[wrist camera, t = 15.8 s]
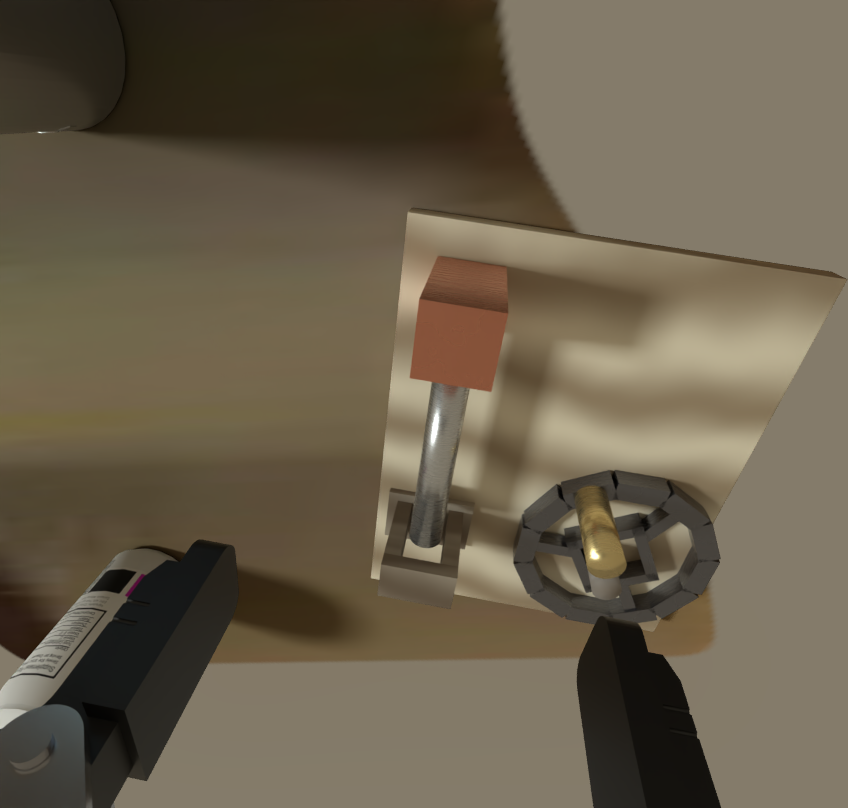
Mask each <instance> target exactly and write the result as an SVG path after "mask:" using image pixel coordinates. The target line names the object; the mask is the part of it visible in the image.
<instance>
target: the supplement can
mask: <svg viewBox="0 0 848 808" xmlns="http://www.w3.org/2000/svg"><path fill="white" fill-rule="evenodd" d="M166 560H172V561H177V560H175V559H174V558H173V557H171V556H169V555H167V554H165V553H162V552H160V551H157V550H152V549H147V548H145V549H135V550H126V551H124V552H122V553H120V554H117V555H116V557H115V558H114V559H113V560H112V561H111V562H110V563H109V565H108V566H107V567H106V568H105V569H104V570H103V572H102V573H101V574H100V575H99V576H98V577H97V579H96V580H95V581H94V582H93V583H92V584H91V585H90V587H89V588H88V589H87V590H86V591H85V592H84V594H83V595H82V596H81V597H80V598H79V599H78V600H77V602H76V603H75V604H74V605H73V606H72V607H71V609H70V610H69V611H68V612H67V613H66V614H65V616H64V617H63V618H62V619H61V620H60V621H59V622H58V624H57V625H56V626H55V627H54V628H53V629H52V631H51V632H50V633H49V634H48V635H47V636H46V637H45V639H44V640H43V641H42V642H41V643H40V644H39V646H38V647H37V648H36V649H35V650H34V651H33V653H32V654H31V655H30V656H29V657H28V658H27V659H26V661H25V662H24V663H23V664H22V665H21V666H20V668H19V669H18V670H17V671H16V672H15V673H14V674H13V676H12V677H11V678H10V679H9V680H8V681H7V683H6V684H5V685H4V686H3V688H2V689H1V691H0V729H2V728H3V727H5V726H6V725H7V724H8V723H9V722H11V721H12V720H14V719H15V718H17V717H18V716H20V715H22V714H24V713H25V712H28V711H30V710H32V709H35V708H38V707H41V706H42V705H44V704H45V703H46V702H47V701H48V700H49V699H50V698H51V697H52V696H53V695H54V693H55V692H56V691H57V690H58V689H59V687H60V686H61V685H62V683H63V682H64V681H65V679H66V678H67V677H68V675H69V674H70V673H71V671H72V670H73V669H74V668H75V666H76V665H77V664H78V662H79V661H80V660H81V658H82V657H83V656H84V654H85V653H86V652H87V650H88V649H89V648H90V646H91V645H92V644H93V643H94V641H95V640H96V639H97V637H98V636H99V635H100V633H101V632H102V631H103V629H104V628H105V627H106V625H107V624H108V623H109V621H110V622H111V621H112V620H113V616H114V615H115V614H116V612H117V611H118V610H119V608H120V607H121V606H122V604H123V603H126V601H127V598H128V597H129V595H130V594H131V593H132V591H133V590H134V589H135V587H136V586H137V585H138V583H139V582H140V581H141V579H142V578H143V577H144V576H145V575H147V574H148V573H149V572H151V571H152V570H154V569H155V568H156V567H158V566H159V565H160V564H162V563H163V562H165V561H166ZM177 562H178V561H177Z"/></svg>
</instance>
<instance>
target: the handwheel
mask: <svg viewBox="0 0 848 808" xmlns="http://www.w3.org/2000/svg"><path fill="white" fill-rule="evenodd" d="M613 500H620V501H625V502H631V503H637V504H643V505H649V506H655V507H659V508H657V509H656V510H655V511H653V512H652V513H650V514H649V515H647V516H646V517H645V518H643V519H642V520H641V519H640V516H639V513H633V514H629V515H624V516H620V517H615V518H614V517H613V513H612V509H611V506H610V502H609V501H613ZM573 509H576V511H577V517H578V522H579V525H578V526H574V527H569V528H564V532H565V536H564V535H558V534H553V533H547V532H544V531H545V530H546V529H548V528H549V527H550V526H551V525H553V524H554V523H555V522H557V521H558V520H559V519H560V518H562V517H563V516H564V515H566V514H567V513H568V512H569V511H571V510H573ZM678 522H680V523H682V524H683V525H684V526H686V527H687V528H688V532H689V536H690V540H691V544H692V547H691V549H690V550H689V552H688V554H687V556H686V558H685V560H684V562H683V564H682V566H681V568H680V569H679V571H678V573H677V574H676V575H674V576H673V577H671V578H670V579H668V580H666V581H665V582H663V583H661V584H660V585H658V586H657V587H655V588H653V589H652V590H650V591H649V592H647V593H643V594H637V595H632V593H631V590H630V587H629V585H634V584H640V583H646V582H651V581H657V580H659V577H658V573H657V570H656V567H655V563H654V560H653V557H652V554H651V550H650V547H649V544H648V542H649V541H651V540H652V539H654V538H655V537H657V536H658V535H660V534H661V533H663V532H664V531H666V530H667V529H669V528H670V527H672V526H673V525H675V524H676V523H678ZM630 538H634V539H635V542H636V545H637V548H638V551H639V555H640V558H641V559H640V560H635V561H630V562H626V560H625V556H624V552H623V549H622V545H621V542H620V540H625V539H630ZM583 548H584V550H583ZM536 551H538V552H544V553H549V554H555V555H561V556H566V557H572V559H573V562H574V564H575V567H576V569H577V572H578V574H579V577H580V579H581V582H582V584H583V587H584V589H585V592H586V593H589V592H592V590H591V585H590V579H589V574H588V571H589V572H590V573H591V574H592V575H593V576H595V577H598V578H602V579H611V578H615V577H617V576H619V580H620V584H621V588H622V592H621V594H620V595H619V598H614V599H611V600H602V599H599V598H597V597H591V596H586V595H580V594H575V593H570V592H569V591H567V590H566V589H564V588H563V587H561V586H560V585H558V584H557V583H555V582H554V581H552V580H551V579H549V578H548V577H546V576H545V575H543V573H542V571H541V569H540V567H539V564H538V562H537V560H536V557H535V552H536ZM719 559H720V554H719V550H718V546H717V541H716V537H715V532H714V528H713V524H712V522H711V520H710V518H709V516H708V514H707V512H706V510H705V509H704V507H703V506H702V505H701V504H700V503H698V502H697V501H696V500H694V499H693V498H692V497H691V496H689V495H688V494H687V493H685V492H684V491H683V490H681V489H680V488H679V487H678V486H676V485H675V484H674V483H672V482H671V481H670V480H668V481H667V482H666V480H665V478H661V477H655V476H650V475H644V474H638V473H632V472H626V471H620V470H614V473H613V475H612V476H611V473H610V470H607V471H603V472H599V473H595V474H590V475H586V476H582V477H578V478H574V479H570V480H566V481H562V482H561V487H560V486H559V485H557V484H556V485H555V486H553V487H552V488H551V489H550V490H548V491H547V492H546V493H545V494H544V495H542V496H541V497H540V498H539V499H538V500H536V501H535V502H534V503H533V504H532V505H530V506H529V507H528V508H527V509H526V510H524V514H522V515H521V519H520V523H519V526H518V530H517V533H516V537H515V540H514V544H513V563H514V566H515V568H516V571H517V573H518V575H519V577H520V579H521V581H522V583H523V586H524V588H525V590H526V592H527V594H530V597H531V598H533V599H534V600H536V601H537V602H539V603H540V604H542V605H543V606H545V607H546V608H548V609H549V610H551V611H552V612H554V613H556V614H557V615H559V616H560V617H564V616H565V617H566V619H568V620H573V621H579V622H584V623H589V624H595V623H596V621H597V619H598V618H599V617H600V616H606V617H611V618H616V619H622V620H627V621H632V622H637V623H642V622H649V621H655V620H657V617H656V615H657V616H658V617H660V618H661V619H662V618H664V617H666V616H667V615H669V614H671V613H673V612H674V611H676V610H678V609H679V608H681V607H683V606H685V605H686V604H688V603H690V602H692V601H693V600H695V599H697V598H698V595H697V594H700V595H702V593H703V591H704V589H705V588H706V586H707V584H708V582H709V581H710V579H711V577H712V575H713V574H714V572H715V570H716V569H717V567H718V565H719V563H720V562H719Z"/></svg>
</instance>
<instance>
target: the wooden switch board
mask: <svg viewBox="0 0 848 808" xmlns="http://www.w3.org/2000/svg"><path fill="white" fill-rule="evenodd" d="M438 256H442V257H448V258H455V259H461V260H467V261H474V262H480V263H486V264H493V265H499V266H506V267H507V290H508V318H507V322H506V327H505V332H504V336H503V341H502V345H501V350H500V355H499V359H498V364H497V369H496V373H495V378H494V382H493V387H492V392H488V391H482V390H476V389H470V390H469V396H468V401H467V406H466V411H465V416H464V422H463V427H462V432H461V437H460V443H459V448H458V453H457V458H456V464H455V469H454V474H453V479H452V485H451V490H450V495H449V500H448V505H447V511H446V516H445V521H444V526H443V532H442V537H441V541H440V543H439V544H438V545H437V546H435V547H433V548H421V547H419V546H417V545H415V544H414V543H413V542H412V541H411V540H410V537H409V534H410V527H411V520H412V513H413V506H414V500H415V493H416V486H417V479H418V472H419V466H420V459H421V452H422V445H423V438H424V431H425V425H426V418H427V411H428V404H429V397H430V391H431V384H432V382H429V381H423V380H417V379H411V378H410V370H411V362H412V354H413V346H414V337H415V329H416V321H417V313H418V304H419V298H420V296H421V294H422V291H423V289H424V287H425V284H426V282H427V280H428V277H429V275H430V273H431V271H432V268H433V266H434V264H435V261H436V259H437V257H438ZM846 281H847V279H846V278H843V277H841V276H839V275H837V274H835V273H833V272H829V271H823V270H816V269H810V268H803V267H796V266H790V265H783V264H776V263H770V262H764V261H757V260H751V259H744V258H738V257H731V256H724V255H717V254H711V253H705V252H698V251H692V250H685V249H679V248H671V247H665V246H659V245H652V244H646V243H639V242H633V241H626V240H620V239H613V238H606V237H600V236H593V235H587V234H580V233H574V232H567V231H561V230H554V229H548V228H541V227H534V226H528V225H521V224H515V223H508V222H502V221H495V220H489V219H482V218H475V217H469V216H462V215H456V214H449V213H443V212H436V211H430V210H423V209H416V208H411V209H410V210H409V212H408V216H407V226H406V236H405V246H404V256H403V266H402V276H401V286H400V296H399V305H398V315H397V325H396V335H395V345H394V355H393V365H392V375H391V385H390V395H389V405H388V415H387V424H386V434H385V444H384V454H383V464H382V474H381V484H380V494H379V504H378V514H377V524H376V534H375V543H374V553H373V563H372V573H371V578H373V579H379V587H378V595H379V596H384V597H389V598H394V599H399V600H405V601H410V602H415V603H420V604H425V605H431V606H436V607H441V608H446V609H451V605H452V601H453V596H454V594H458V595H463V596H468V597H473V598H479V599H484V600H489V601H494V602H500V603H505V604H510V605H515V606H521V607H526V608H531V609H536V610H542V611H547V612H552V611H551V610H549V609H548V608H546V607H545V606H543V605H542V604H540V603H539V602H537V601H536V600H534V599H533V598H531V597H530V594H527V592H526V590H525V588H524V586H523V583H522V581H521V579H520V577H519V575H518V573H517V571H516V568H515V566H514V563H513V544H514V540H515V537H516V533H517V530H518V526H519V523H520V519H521V515H522V514H524V510H526V509H527V508H528V507H529V506H530V505H532V504H533V503H534V502H535V501H536V500H538V499H539V498H540V497H541V496H542V495H544V494H545V493H546V492H547V491H548V490H550V489H551V488H552V487H553V486H555V485H556V484H557V485H559V486H560V487H561V482H562V481H566V480H570V479H574V478H578V477H582V476H586V475H590V474H595V473H599V472H603V471H607V470H610V473H611V476H612V475H613V473H614V470H620V471H626V472H632V473H638V474H644V475H650V476H655V477H661V478H665V480H666V482H667V481H668V480H670V481H671V482H672V483H674V484H675V485H676V486H678V487H679V488H680V489H681V490H683V491H684V492H685V493H687V494H688V495H689V496H691V497H692V498H693V499H694V500H696V501H697V502H698V503H700V504H701V505H702V506H703V507H704V509H705V510H706V512H707V514H708V516H709V518H710V520H711V522H712V524H713V523H714V521H715V519H716V517H717V515H718V514H719V512H720V510H721V508H722V506H723V504H724V503H725V501H726V499H727V497H728V495H729V494H730V492H731V490H732V488H733V486H734V485H735V483H736V481H737V479H738V477H739V476H740V474H741V472H742V470H743V468H744V466H745V465H746V463H747V461H748V459H749V457H750V456H751V454H752V452H753V450H754V448H755V446H756V445H757V443H758V441H759V439H760V437H761V435H762V434H763V432H764V430H765V428H766V426H767V425H768V423H769V421H770V419H771V417H772V416H773V414H774V412H775V410H776V408H777V406H778V405H779V403H780V401H781V399H782V397H783V396H784V394H785V392H786V390H787V388H788V386H789V385H790V383H791V381H792V379H793V377H794V376H795V374H796V372H797V370H798V368H799V367H800V365H801V363H802V361H803V359H804V357H805V356H806V354H807V352H808V350H809V348H810V346H811V345H812V343H813V341H814V339H815V337H816V336H817V334H818V332H819V330H820V328H821V327H822V325H823V323H824V321H825V319H826V317H827V316H828V313H829V312H830V310H831V308H832V306H833V305H834V303H835V301H836V299H837V297H838V295H839V294H840V292H841V290H842V288H843V287H844V285H845V283H846ZM609 502H610V506H611V509H612V513H613V517H614V518H615V517H620V516H624V515H629V514H633V513H639V516H640V519H641V520H642V519H643V518H645V517H646V516H647V515H649V514H650V513H652V512H653V511H655V510H656V509H657V508H659V507H655V506H649V505H643V504H637V503H631V502H625V501H620V500H613V501H609ZM578 525H579V522H578V517H577V511H576V509H573V510H571V511H569V512H568V513H567V514H566V515H564V516H563V517H562V518H560V519H559V520H558V521H557V522H555V523H554V524H553V525H551V526H550V527H549V528H548V529H546V530H545V531H544V532H547V533H553V534H558V535H564V536H565V532H564V528H569V527H574V526H578ZM620 542H621V545H622V549H623V552H624V556H625V560H626V562H630V561H635V560H640V559H641V558H640V555H639V551H638V548H637V545H636V542H635V539H634V538H630V539H625V540H620ZM648 544H649V547H650V550H651V554H652V557H653V560H654V563H655V567H656V570H657V573H658V577H659V580H657V581H651V582H646V583H640V584H634V585H629V587H630V590H631V593H632V595H637V594H643V593H647V592H649V591H650V590H652V589H653V588H655V587H657V586H658V585H660V584H661V583H663V582H665V581H666V580H668V579H670V578H671V577H673V576H674V575H676V574H677V573H678V571H679V569H680V568H681V566H682V564H683V562H684V560H685V558H686V556H687V554H688V552H689V550H690V549H691V547H692V544H691V540H690V536H689V532H688V528H687V527H686V526H684V525H683V524H682V523H680V522H678V523H676V524H675V525H673V526H672V527H670V528H669V529H667V530H666V531H664V532H663V533H661V534H660V535H658V536H657V537H655V538H654V539H652V540H651V541H649V542H648ZM583 550H584V548H583ZM535 557H536V560H537V562H538V564H539V567H540V569H541V571H542V573H543V575H545V576H546V577H548V578H549V579H551V580H552V581H554V582H555V583H557V584H558V585H560V586H561V587H563V588H564V589H566V590H567V591H569V592H570V593H575V594H580V595H586V596H591V597H597V598H599V599H602V600H611V599H614V598H619V595H620V594H621V592H622V588H621V584H620V580H619V576H617V577H615V578H611V579H602V578H598V577H595V576H593V575H592V574H591V573H590V572H589V571H588V574H589V579H590V585H591V590H592V592H589V593H586V592H585V589H584V587H583V584H582V582H581V579H580V577H579V574H578V572H577V569H576V567H575V564H574V562H573V559H572V557H566V556H561V555H555V554H549V553H544V552H538V551H536V552H535ZM552 613H554V612H552ZM656 617H657V620H655V621H649V622H642V623H638V624H639V625H640V627H641V629H642V630H647V631H652V632H654V630H655V628H656V626H657V625H658V623H659V621H660V619H661V618H660V617H658V616H657V615H656Z"/></svg>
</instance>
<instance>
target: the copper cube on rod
mask: <svg viewBox="0 0 848 808" xmlns="http://www.w3.org/2000/svg"><path fill="white" fill-rule="evenodd" d="M507 318H508V290H507V267H506V266H499V265H493V264H486V263H480V262H474V261H467V260H461V259H455V258H448V257H442V256H438V257H437V259H436V261H435V264H434V266H433V268H432V271H431V273H430V275H429V277H428V280H427V282H426V284H425V287H424V289H423V291H422V294H421V296H420V298H419V304H418V313H417V321H416V329H415V337H414V346H413V354H412V362H411V370H410V378H411V379H417V380H423V381H429V382H432V384H431V391H430V397H429V404H428V411H427V418H426V425H425V431H424V438H423V445H422V452H421V459H420V466H419V472H418V479H417V486H416V493H415V500H414V506H413V513H412V520H411V527H410V534H409V537H410V540H411V541H412V542H413V543H414V544H415V545H417V546H419V547H421V548H433V547H435V546H437V545H438V544H439V543H440V541H441V537H442V532H443V526H444V521H445V516H446V511H447V505H448V500H449V495H450V490H451V485H452V479H453V474H454V469H455V464H456V458H457V453H458V448H459V443H460V437H461V432H462V427H463V422H464V416H465V411H466V406H467V401H468V396H469V390H470V389H476V390H482V391H488V392H492V387H493V382H494V378H495V373H496V369H497V364H498V359H499V355H500V350H501V345H502V341H503V336H504V332H505V327H506V322H507Z"/></svg>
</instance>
